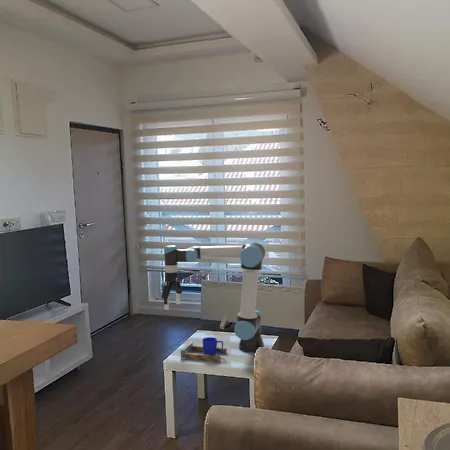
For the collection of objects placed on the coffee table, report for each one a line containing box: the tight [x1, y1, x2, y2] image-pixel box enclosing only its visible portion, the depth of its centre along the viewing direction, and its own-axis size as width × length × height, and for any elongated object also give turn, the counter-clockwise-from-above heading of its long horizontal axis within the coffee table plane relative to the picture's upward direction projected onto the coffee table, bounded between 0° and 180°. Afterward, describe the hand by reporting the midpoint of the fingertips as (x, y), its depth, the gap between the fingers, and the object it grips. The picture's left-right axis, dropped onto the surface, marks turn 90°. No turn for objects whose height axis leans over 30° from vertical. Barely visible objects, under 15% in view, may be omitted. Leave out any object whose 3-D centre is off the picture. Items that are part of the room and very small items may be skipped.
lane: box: [180, 341, 227, 363], centre depth 273 cm, size 23×15×5 cm, turn 75°
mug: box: [202, 336, 224, 355], centre depth 272 cm, size 8×12×10 cm
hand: (172, 306), depth 282 cm, fingers open, 13 cm apart
